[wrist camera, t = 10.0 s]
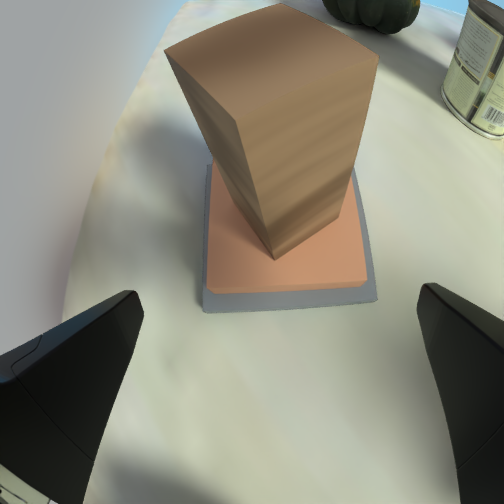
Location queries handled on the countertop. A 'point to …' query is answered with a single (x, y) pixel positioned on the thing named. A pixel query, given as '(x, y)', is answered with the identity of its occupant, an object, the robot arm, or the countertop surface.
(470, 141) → the countertop surface
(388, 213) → the countertop surface
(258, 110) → the walnut block
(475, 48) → the coffee can
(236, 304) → the bottom slab
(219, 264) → the top slab
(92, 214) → the countertop surface
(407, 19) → the squash
